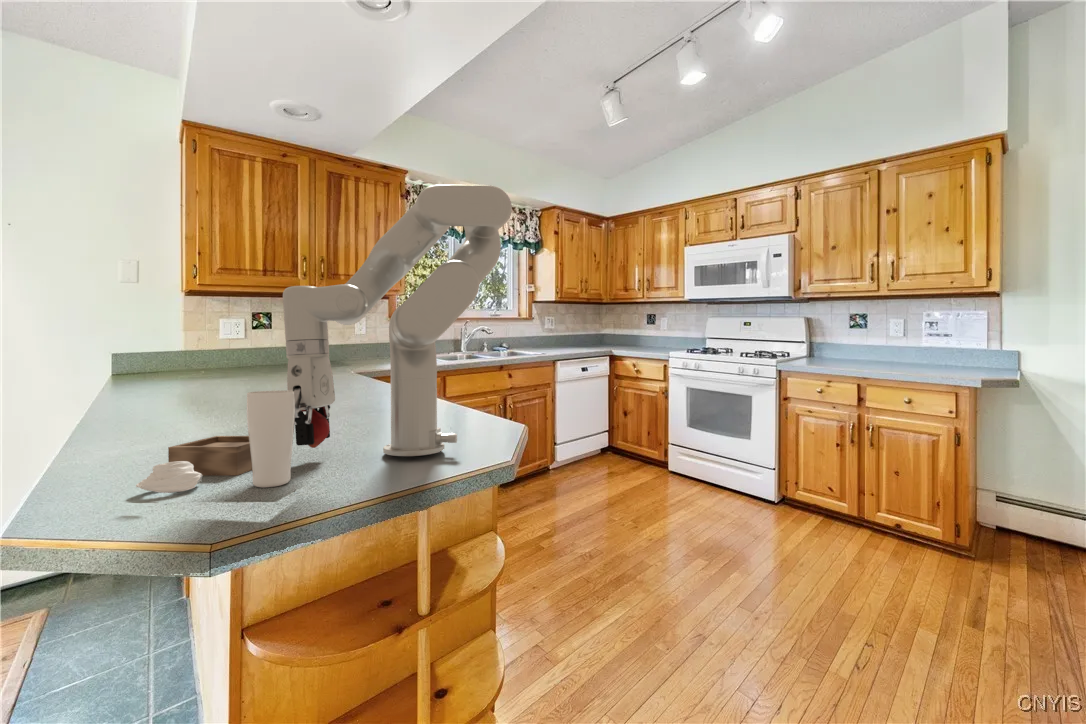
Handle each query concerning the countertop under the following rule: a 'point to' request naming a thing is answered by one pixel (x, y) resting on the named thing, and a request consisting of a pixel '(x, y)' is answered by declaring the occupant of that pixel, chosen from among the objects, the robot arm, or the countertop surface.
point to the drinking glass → (271, 436)
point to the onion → (319, 428)
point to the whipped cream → (171, 478)
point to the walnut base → (215, 455)
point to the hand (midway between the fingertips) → (313, 440)
